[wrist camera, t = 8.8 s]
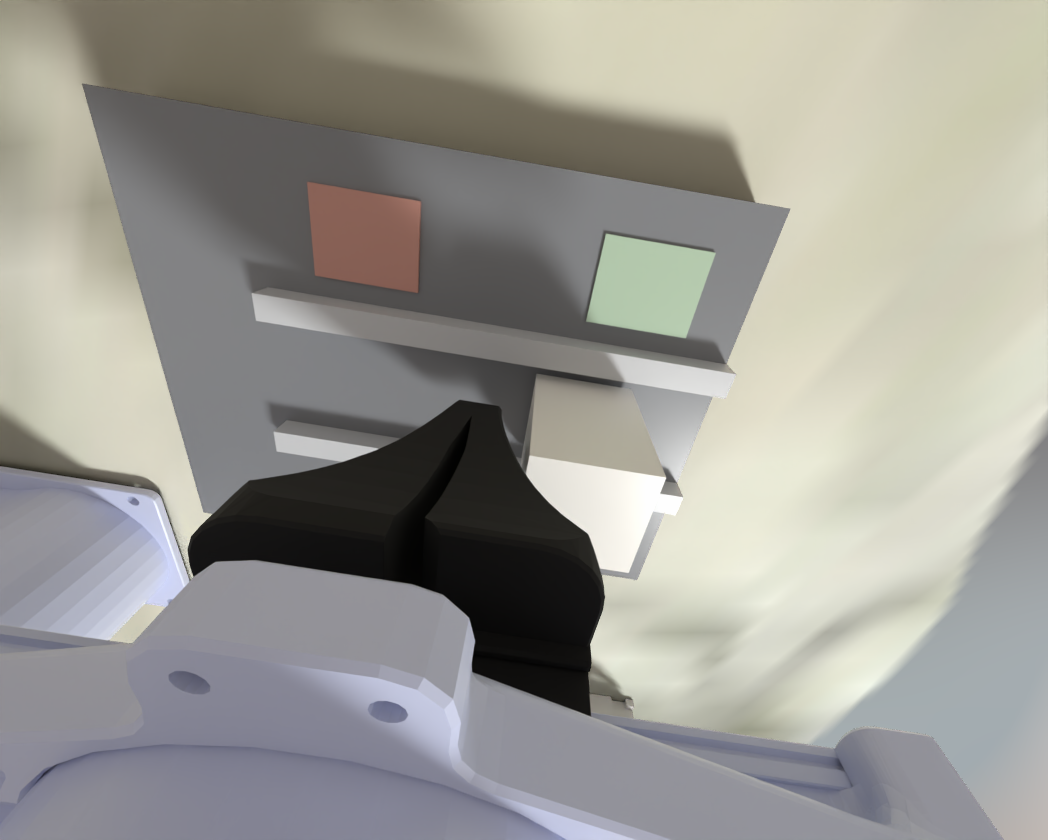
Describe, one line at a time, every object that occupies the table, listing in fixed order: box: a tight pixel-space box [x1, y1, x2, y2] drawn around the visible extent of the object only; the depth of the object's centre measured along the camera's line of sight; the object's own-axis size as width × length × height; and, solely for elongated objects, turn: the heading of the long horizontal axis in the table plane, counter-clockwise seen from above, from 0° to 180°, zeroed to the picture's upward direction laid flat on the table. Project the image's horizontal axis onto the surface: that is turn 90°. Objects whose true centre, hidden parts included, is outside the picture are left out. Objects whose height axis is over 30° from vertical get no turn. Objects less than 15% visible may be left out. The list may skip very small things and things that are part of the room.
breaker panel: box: [82, 84, 790, 580], centre depth 15 cm, size 18×14×3 cm
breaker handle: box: [521, 374, 666, 573], centre depth 12 cm, size 3×3×5 cm
